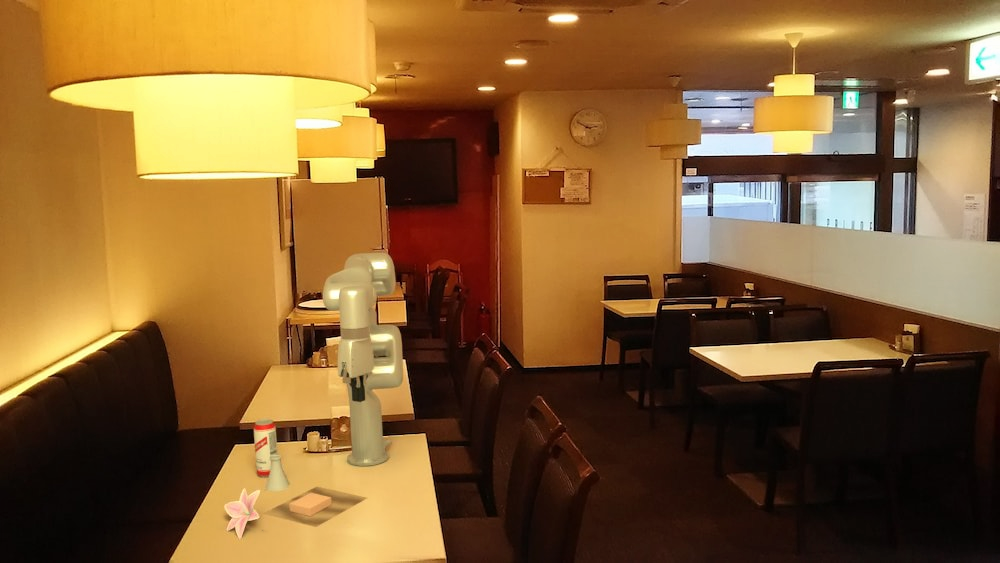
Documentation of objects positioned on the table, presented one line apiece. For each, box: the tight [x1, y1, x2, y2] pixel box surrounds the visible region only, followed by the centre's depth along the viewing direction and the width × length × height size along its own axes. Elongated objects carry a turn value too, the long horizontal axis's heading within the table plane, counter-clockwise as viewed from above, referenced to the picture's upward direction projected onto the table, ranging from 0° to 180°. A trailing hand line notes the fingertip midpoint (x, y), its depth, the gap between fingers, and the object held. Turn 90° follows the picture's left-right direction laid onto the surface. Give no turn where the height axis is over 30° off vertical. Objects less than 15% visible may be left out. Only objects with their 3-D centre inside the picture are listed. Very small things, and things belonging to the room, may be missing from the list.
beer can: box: [253, 418, 279, 478], centre depth 241 cm, size 6×6×16 cm
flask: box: [264, 454, 291, 492], centre depth 228 cm, size 7×7×10 cm
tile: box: [289, 493, 332, 516], centre depth 213 cm, size 2×7×8 cm
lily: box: [224, 487, 261, 539], centre depth 205 cm, size 12×12×10 cm
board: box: [263, 486, 368, 528], centre depth 215 cm, size 20×18×1 cm
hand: (358, 400), depth 219 cm, fingers closed
